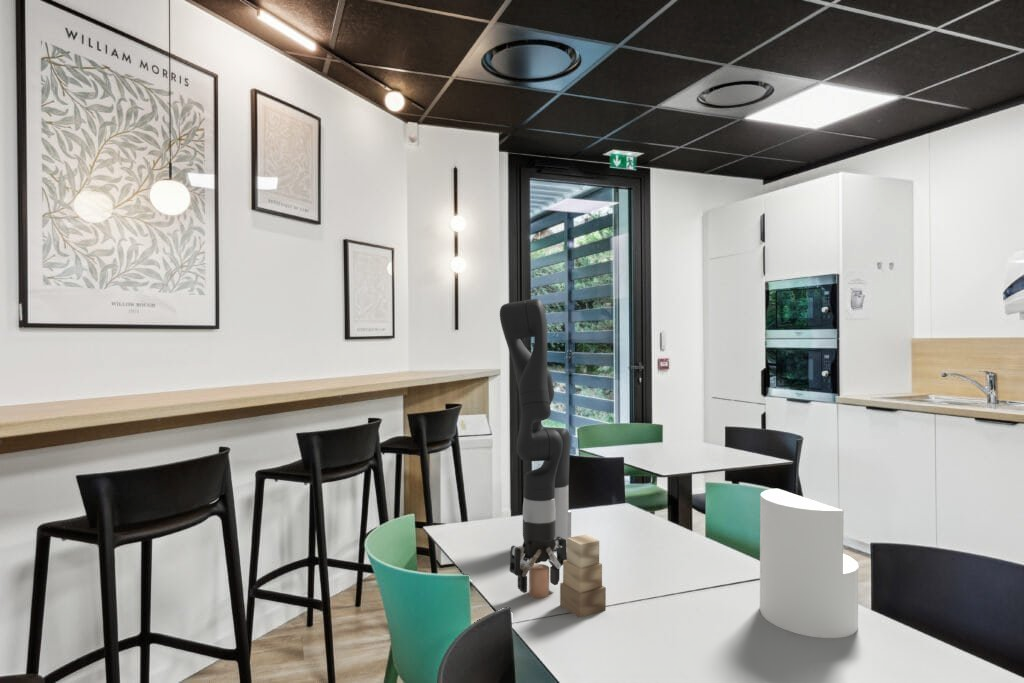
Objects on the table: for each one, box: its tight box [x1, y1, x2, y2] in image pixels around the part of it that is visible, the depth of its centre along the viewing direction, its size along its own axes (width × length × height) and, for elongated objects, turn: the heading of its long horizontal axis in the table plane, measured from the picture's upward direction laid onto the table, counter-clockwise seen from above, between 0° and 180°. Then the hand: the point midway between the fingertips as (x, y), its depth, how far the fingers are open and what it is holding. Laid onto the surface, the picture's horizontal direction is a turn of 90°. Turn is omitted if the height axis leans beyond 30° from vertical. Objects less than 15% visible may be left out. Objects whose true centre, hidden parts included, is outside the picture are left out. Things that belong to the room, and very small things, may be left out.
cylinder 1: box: [528, 563, 550, 599], centre depth 142 cm, size 5×5×6 cm
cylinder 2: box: [759, 488, 859, 639], centre depth 131 cm, size 19×19×25 cm
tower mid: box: [562, 560, 603, 593], centre depth 135 cm, size 6×6×5 cm
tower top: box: [566, 534, 600, 568], centre depth 135 cm, size 5×5×5 cm
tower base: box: [559, 582, 607, 618], centre depth 135 cm, size 7×7×5 cm
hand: (538, 587), depth 142 cm, fingers open, 8 cm apart
